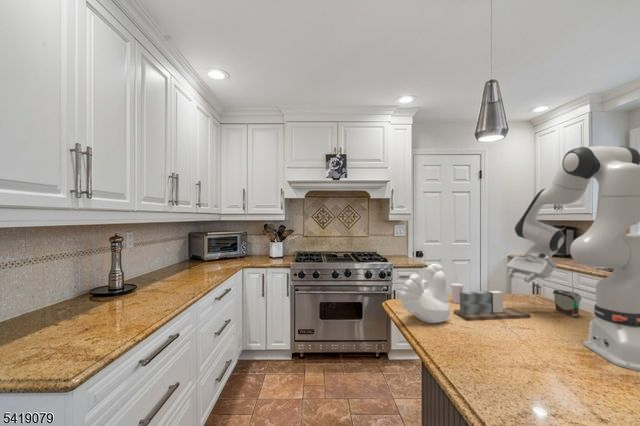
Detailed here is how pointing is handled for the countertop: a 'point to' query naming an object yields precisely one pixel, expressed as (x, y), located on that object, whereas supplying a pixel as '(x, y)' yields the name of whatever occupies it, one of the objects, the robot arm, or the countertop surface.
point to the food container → (567, 302)
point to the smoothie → (456, 291)
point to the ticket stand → (484, 308)
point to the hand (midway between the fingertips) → (517, 279)
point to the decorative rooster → (427, 295)
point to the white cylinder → (497, 301)
